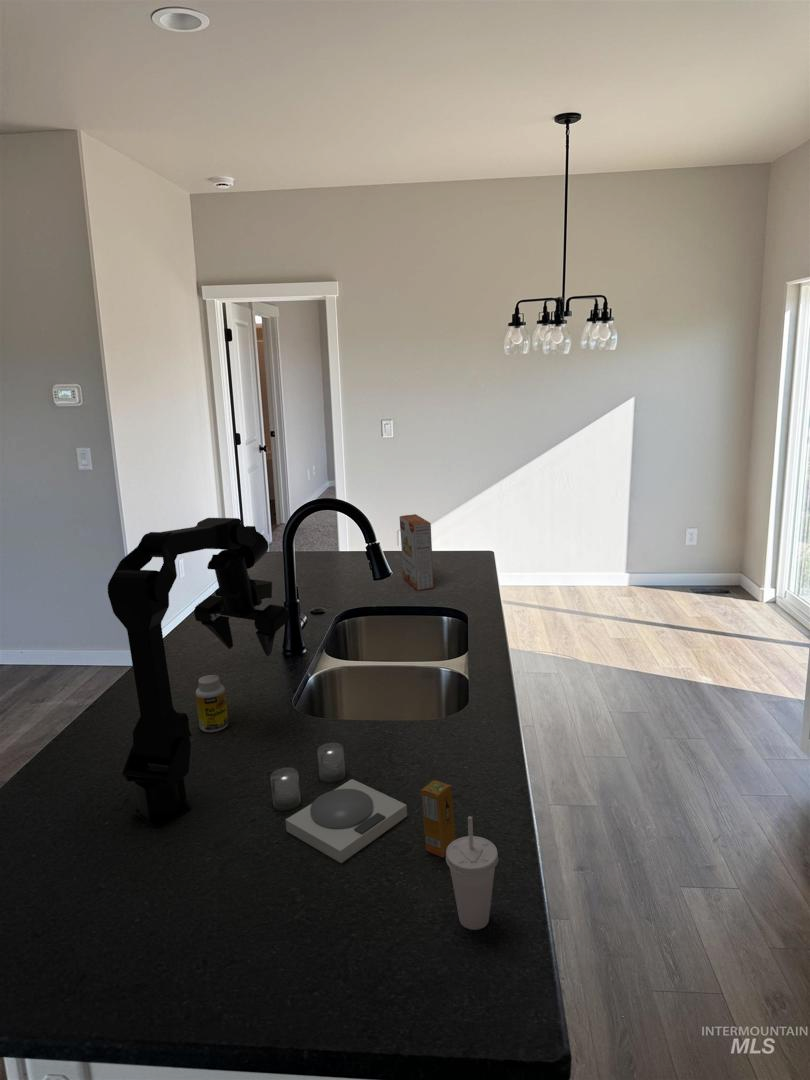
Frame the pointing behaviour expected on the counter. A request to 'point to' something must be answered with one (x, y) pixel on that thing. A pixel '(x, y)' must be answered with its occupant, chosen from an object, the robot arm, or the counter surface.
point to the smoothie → (472, 877)
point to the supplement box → (438, 817)
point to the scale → (346, 819)
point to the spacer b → (331, 762)
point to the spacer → (285, 788)
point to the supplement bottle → (211, 704)
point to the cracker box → (416, 551)
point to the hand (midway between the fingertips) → (249, 651)
